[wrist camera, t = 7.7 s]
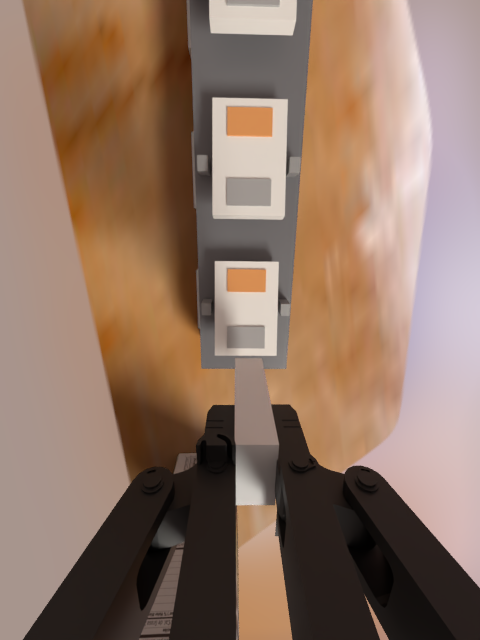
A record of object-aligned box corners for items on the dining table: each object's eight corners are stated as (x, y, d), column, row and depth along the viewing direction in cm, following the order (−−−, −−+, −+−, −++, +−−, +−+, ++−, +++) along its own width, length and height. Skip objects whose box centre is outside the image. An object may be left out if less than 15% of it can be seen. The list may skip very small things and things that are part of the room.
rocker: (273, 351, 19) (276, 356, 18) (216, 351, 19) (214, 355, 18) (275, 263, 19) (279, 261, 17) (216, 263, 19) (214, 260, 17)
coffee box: (238, 512, 32) (240, 767, 17) (182, 514, 32) (135, 771, 17) (236, 450, 30) (238, 687, 14) (176, 451, 30) (112, 691, 14)
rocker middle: (280, 221, 17) (285, 215, 15) (214, 220, 17) (212, 214, 15) (283, 114, 16) (288, 97, 15) (214, 113, 16) (212, 95, 15)
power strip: (276, 343, 26) (289, 377, 20) (204, 342, 26) (195, 377, 20) (300, -54, 17) (333, -203, 11) (193, -58, 17) (170, -210, 11)
